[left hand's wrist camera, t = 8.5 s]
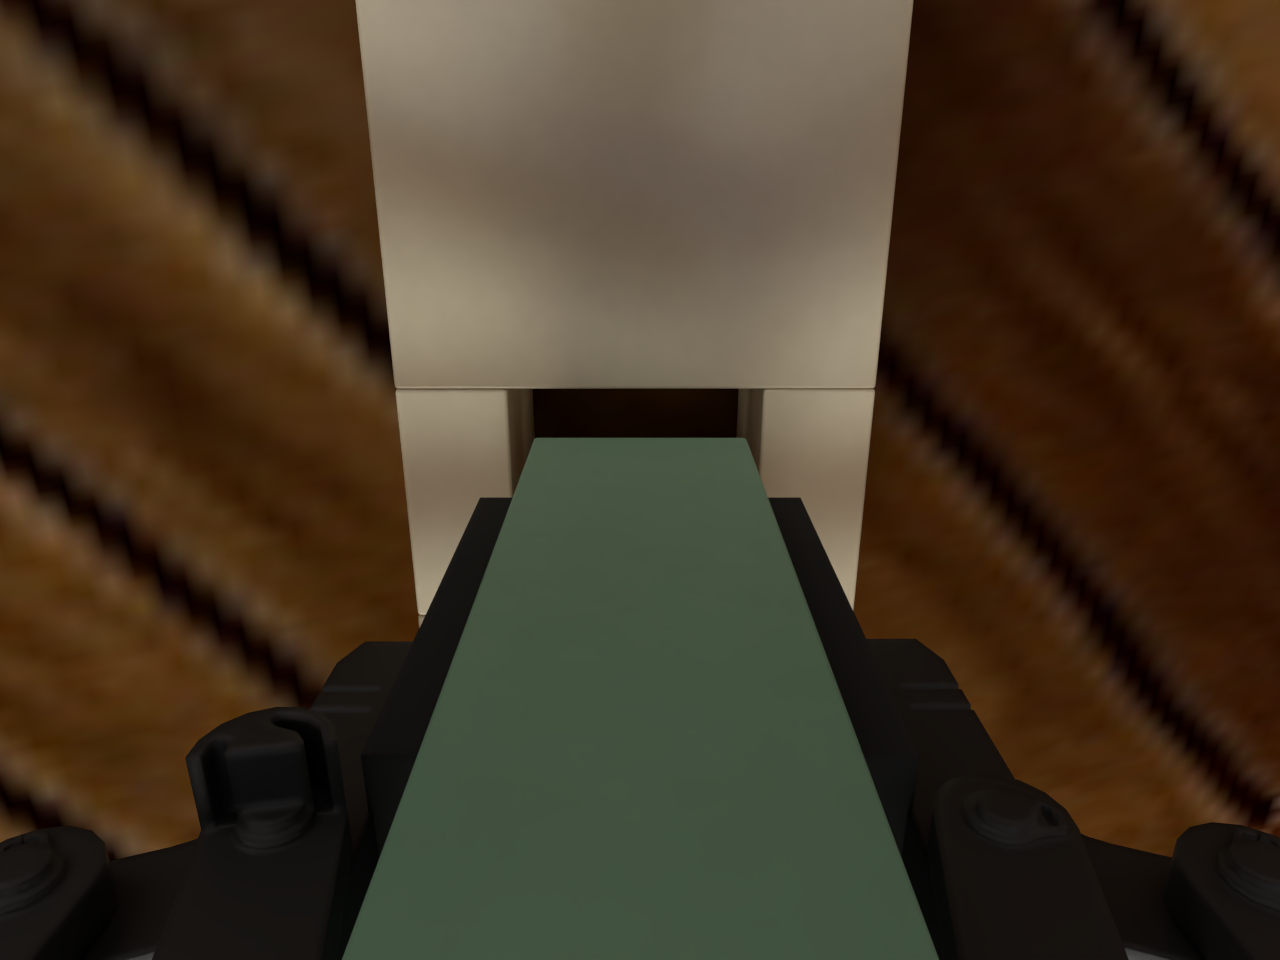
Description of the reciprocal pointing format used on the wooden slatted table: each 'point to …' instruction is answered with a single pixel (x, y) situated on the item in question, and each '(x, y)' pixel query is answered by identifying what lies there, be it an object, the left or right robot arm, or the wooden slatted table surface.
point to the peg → (640, 740)
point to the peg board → (633, 230)
